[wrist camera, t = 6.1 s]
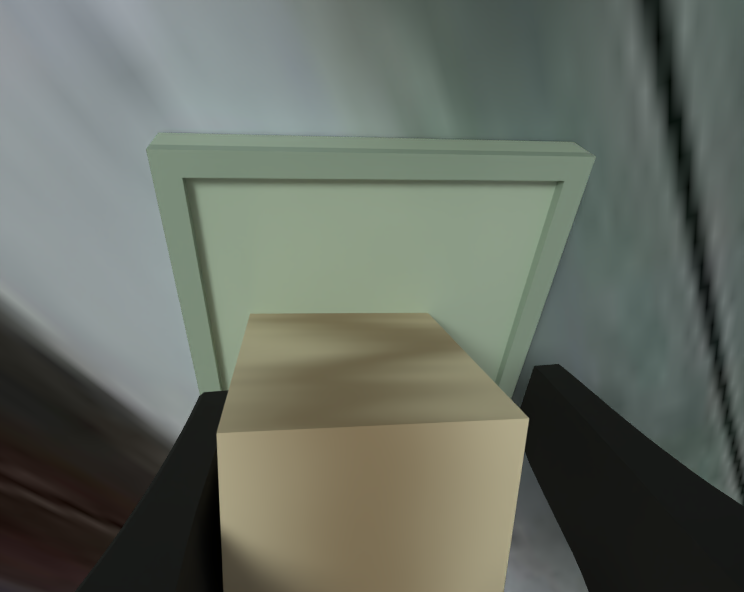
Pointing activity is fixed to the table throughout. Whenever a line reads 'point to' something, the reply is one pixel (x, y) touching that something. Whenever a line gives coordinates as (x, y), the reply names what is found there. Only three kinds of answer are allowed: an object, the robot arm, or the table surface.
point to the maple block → (365, 459)
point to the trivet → (365, 235)
